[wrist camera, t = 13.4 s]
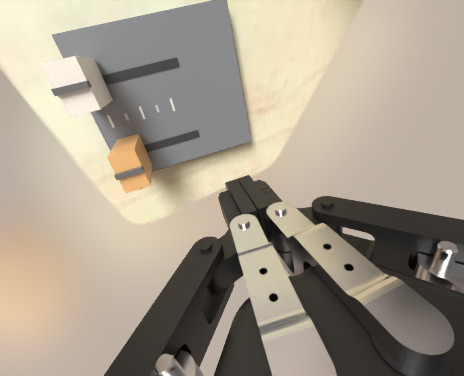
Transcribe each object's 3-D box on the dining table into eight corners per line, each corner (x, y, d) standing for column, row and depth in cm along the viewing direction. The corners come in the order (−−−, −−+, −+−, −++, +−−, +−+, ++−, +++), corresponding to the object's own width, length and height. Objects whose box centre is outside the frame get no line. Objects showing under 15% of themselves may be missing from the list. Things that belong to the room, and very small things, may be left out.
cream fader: (94, 58, 23) (73, 55, 17) (113, 100, 25) (100, 110, 19) (67, 64, 22) (36, 63, 17) (88, 106, 24) (67, 118, 19)
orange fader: (139, 133, 27) (134, 150, 21) (152, 164, 29) (150, 187, 23) (116, 139, 27) (105, 159, 21) (131, 170, 29) (124, 195, 23)
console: (221, 2, 25) (226, -3, 24) (246, 137, 33) (251, 141, 31) (59, 37, 23) (51, 34, 21) (126, 173, 31) (124, 179, 29)
